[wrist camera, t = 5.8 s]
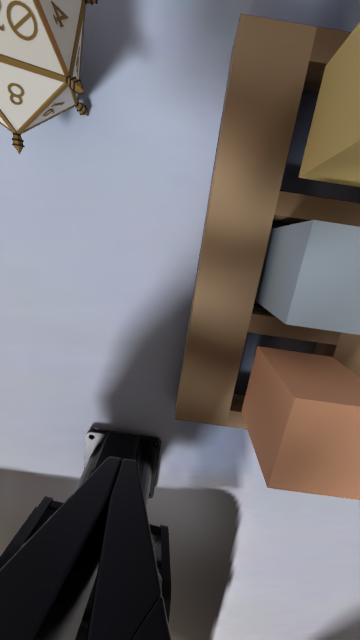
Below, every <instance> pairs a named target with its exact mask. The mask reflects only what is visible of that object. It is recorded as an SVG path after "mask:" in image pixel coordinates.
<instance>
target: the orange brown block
mask: <svg viewBox="0 0 360 640" xmlns="http://www.w3.org/2000/svg"><path fill="white" fill-rule="evenodd" d="M242 414H243V417H244V420H245V423H246V426H247V429H248V432H249V435H250V438H251V441H252V444H253V447H254V450H255V453H256V455H257V458H258V461H259V464H260V467H261V470H262V473H263V476H264V479H265V482H266V485H267V488H273V489H281V490H288V491H296V492H303V493H311V494H318V495H326V496H334V497H341V498H349V499H356V500H360V377H358V376H357V375H356V374H354V373H353V372H352V371H350V370H349V369H348V368H346V367H345V366H344V365H342V364H341V363H340V362H338V361H337V360H336V359H334V358H333V357H330V356H323V355H316V354H309V353H302V352H295V351H288V350H281V349H274V348H267V347H260V346H257V350H256V354H255V358H254V362H253V366H252V370H251V374H250V378H249V383H248V387H247V391H246V395H245V399H244V403H243V407H242Z"/></svg>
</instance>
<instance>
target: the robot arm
mask: <svg viewBox="0 0 360 640" xmlns="http://www.w3.org/2000/svg"><path fill="white" fill-rule="evenodd" d="M91 435H94V436H91ZM153 443H156V444H157V445H155V444H153ZM160 447H161V441H160V439H159V438H156V437H148V436H141V435H133V434H126V433H119V432H111V431H104V430H96V429H91V430H89V431H88V432H87V434H86V442H85V462H84V471H83V474H82V476H81V478H80V480H79V482H78V485H77V487H76V489H75V491H74V493H73V494H72V495H71V496H70V497H69V498H68V499H67V501H66V502H65V503H64V502H60V501H55V500H53V498H51V497H46V496H45V497H44V499H43V500H42V502H41V503H40V504H39V506H38V507H35V509H34V510H33V512H32V513H31V514H30V516H29V517H28V519H27V520H26V522H25V523H24V524H23V526H22V527H21V528H20V530H19V531H18V533H17V534H16V535H15V537H14V538H13V540H12V541H11V542H10V544H9V545H8V547H7V548H6V549H5V551H4V552H3V554H2V555H1V556H0V640H172V639H171V635H170V630H169V626H168V622H169V613H170V602H171V575H170V555H169V533H168V526H164V525H160V526H157V525H153V524H149V521H148V516H147V504H148V498H152V497H153V493H154V487H155V480H156V474H157V467H158V460H159V453H160Z"/></svg>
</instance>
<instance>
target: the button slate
mask: <svg viewBox="0 0 360 640" xmlns="http://www.w3.org/2000/svg"><path fill="white" fill-rule="evenodd" d="M255 301H256V302H257V303H259V304H260V305H261V306H263V307H264V308H265V309H267V310H268V311H269V312H270V313H272V314H273V315H274V316H276V317H277V318H278V319H280V320H281V321H282V322H283V323H285V324H287V325H294V326H301V327H308V328H315V329H322V330H329V331H336V332H343V333H349V334H356V335H360V227H357V226H351V225H344V224H338V223H331V222H325V221H318V220H310V221H306V222H301V223H296V224H292V225H287V226H282V227H278V228H273V229H271V232H270V237H269V241H268V245H267V250H266V254H265V259H264V263H263V267H262V272H261V276H260V281H259V285H258V289H257V294H256V298H255Z"/></svg>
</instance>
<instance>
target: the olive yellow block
mask: <svg viewBox="0 0 360 640" xmlns="http://www.w3.org/2000/svg"><path fill="white" fill-rule="evenodd" d="M298 178H304V179H310V180H317V181H323V182H329V183H336V184H342V185H349V186H355V187H360V22H359V24H358V25H357V26H356V27H355V29H354V30H353V31H352V33H351V34H350V35H349V36H348V38H347V39H346V40H345V42H344V43H343V44H342V46H341V47H340V48H339V49H338V51H337V52H336V53H335V55H334V56H333V57H332V58H331V60H330V61H329V62H328V64H327V65H326V66H325V70H324V74H323V78H322V82H321V86H320V91H319V95H318V99H317V103H316V107H315V111H314V115H313V119H312V123H311V128H310V132H309V136H308V140H307V144H306V148H305V152H304V156H303V160H302V165H301V169H300V173H299V177H298Z"/></svg>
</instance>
